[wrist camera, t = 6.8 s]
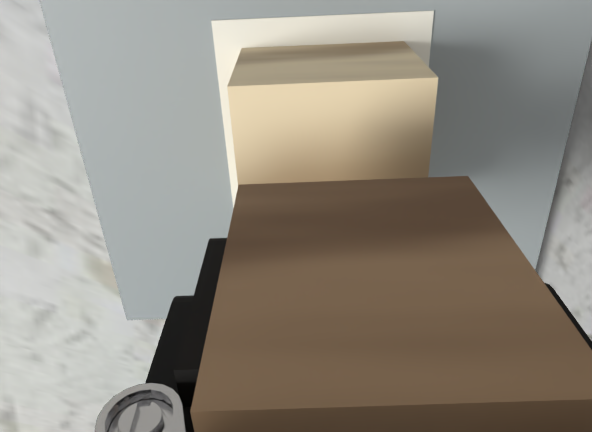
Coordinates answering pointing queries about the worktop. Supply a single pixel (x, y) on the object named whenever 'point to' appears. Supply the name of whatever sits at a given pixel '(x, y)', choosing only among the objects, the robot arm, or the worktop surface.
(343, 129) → the maple block
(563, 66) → the build board
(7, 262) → the worktop surface
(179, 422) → the robot arm
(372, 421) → the walnut block
